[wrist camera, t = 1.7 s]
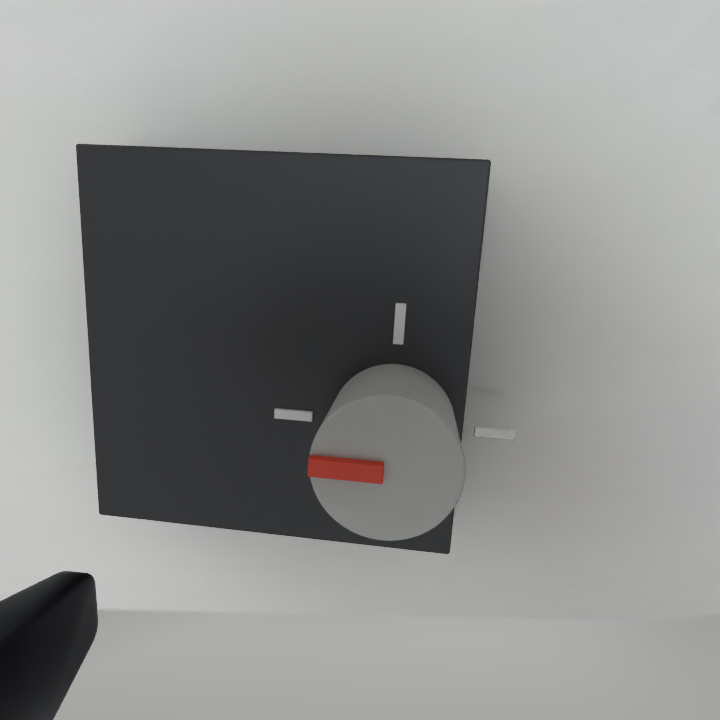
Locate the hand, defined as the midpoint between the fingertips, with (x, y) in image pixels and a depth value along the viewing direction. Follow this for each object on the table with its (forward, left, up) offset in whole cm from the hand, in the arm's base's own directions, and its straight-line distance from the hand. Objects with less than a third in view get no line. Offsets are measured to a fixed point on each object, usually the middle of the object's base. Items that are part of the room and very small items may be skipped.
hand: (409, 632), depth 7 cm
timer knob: (-1, +1, -11) cm, 11 cm away
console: (+1, +5, -14) cm, 15 cm away
